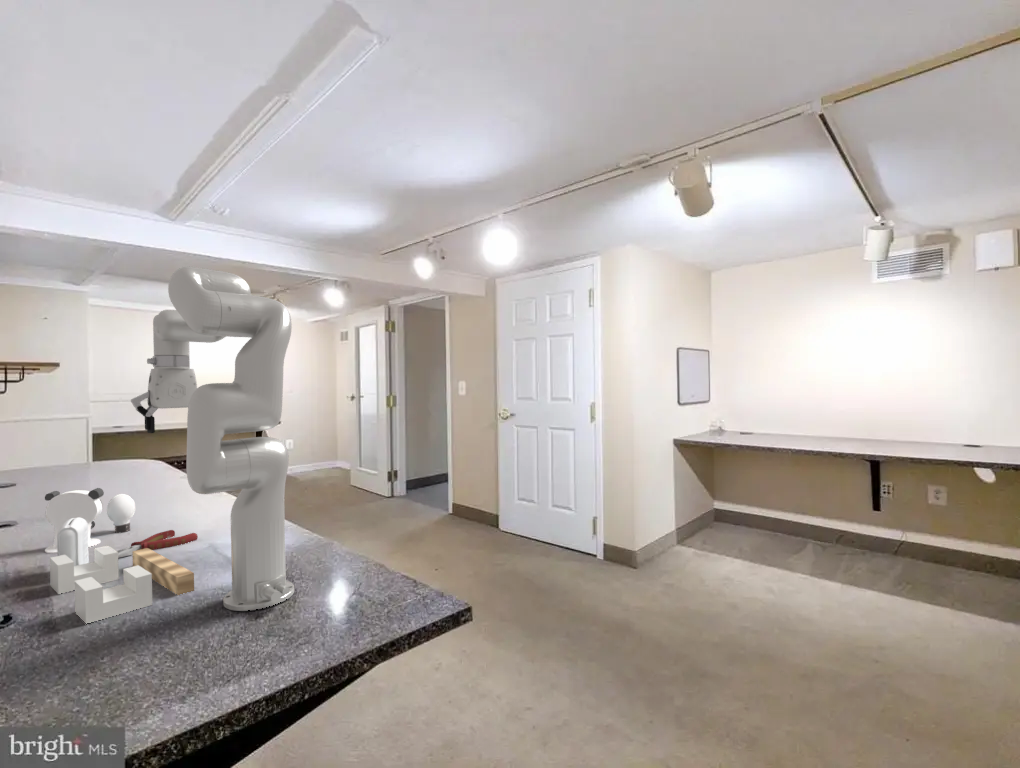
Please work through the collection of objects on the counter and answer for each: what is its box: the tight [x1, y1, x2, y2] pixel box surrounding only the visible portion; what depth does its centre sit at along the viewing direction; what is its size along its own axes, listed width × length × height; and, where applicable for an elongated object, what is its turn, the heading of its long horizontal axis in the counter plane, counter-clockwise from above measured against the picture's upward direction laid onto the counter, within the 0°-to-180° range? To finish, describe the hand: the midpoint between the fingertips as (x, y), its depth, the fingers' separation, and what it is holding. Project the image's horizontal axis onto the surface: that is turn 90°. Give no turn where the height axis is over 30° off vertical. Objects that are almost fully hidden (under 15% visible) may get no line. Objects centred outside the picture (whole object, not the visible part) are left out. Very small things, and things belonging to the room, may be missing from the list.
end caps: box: [49, 545, 153, 625], centre depth 103 cm, size 30×10×6 cm, turn 51°
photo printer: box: [56, 517, 90, 566], centre depth 116 cm, size 10×4×12 cm, turn 29°
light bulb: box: [106, 493, 136, 534], centre depth 150 cm, size 7×7×11 cm
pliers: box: [116, 529, 199, 559], centre depth 132 cm, size 12×20×3 cm, turn 158°
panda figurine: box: [44, 487, 105, 554], centre depth 136 cm, size 12×11×15 cm
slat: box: [132, 548, 195, 596], centre depth 111 cm, size 28×3×4 cm, turn 52°
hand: (173, 431), depth 127 cm, fingers open, 9 cm apart
